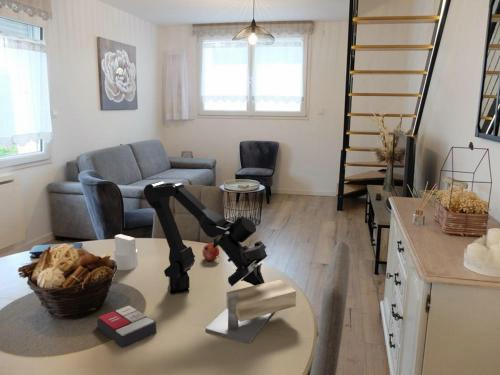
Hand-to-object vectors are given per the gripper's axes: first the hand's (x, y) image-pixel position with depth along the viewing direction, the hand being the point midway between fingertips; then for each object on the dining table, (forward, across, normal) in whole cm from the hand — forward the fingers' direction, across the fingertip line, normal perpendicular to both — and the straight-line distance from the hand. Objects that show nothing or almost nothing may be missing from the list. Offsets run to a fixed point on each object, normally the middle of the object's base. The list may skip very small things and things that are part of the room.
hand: (265, 288), depth 130 cm
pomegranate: (-20, +29, +32) cm, 47 cm away
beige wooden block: (+6, -7, +4) cm, 10 cm away
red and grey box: (-17, -28, +28) cm, 43 cm away
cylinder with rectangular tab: (-39, +8, +50) cm, 64 cm away
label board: (+3, -5, +8) cm, 10 cm away
